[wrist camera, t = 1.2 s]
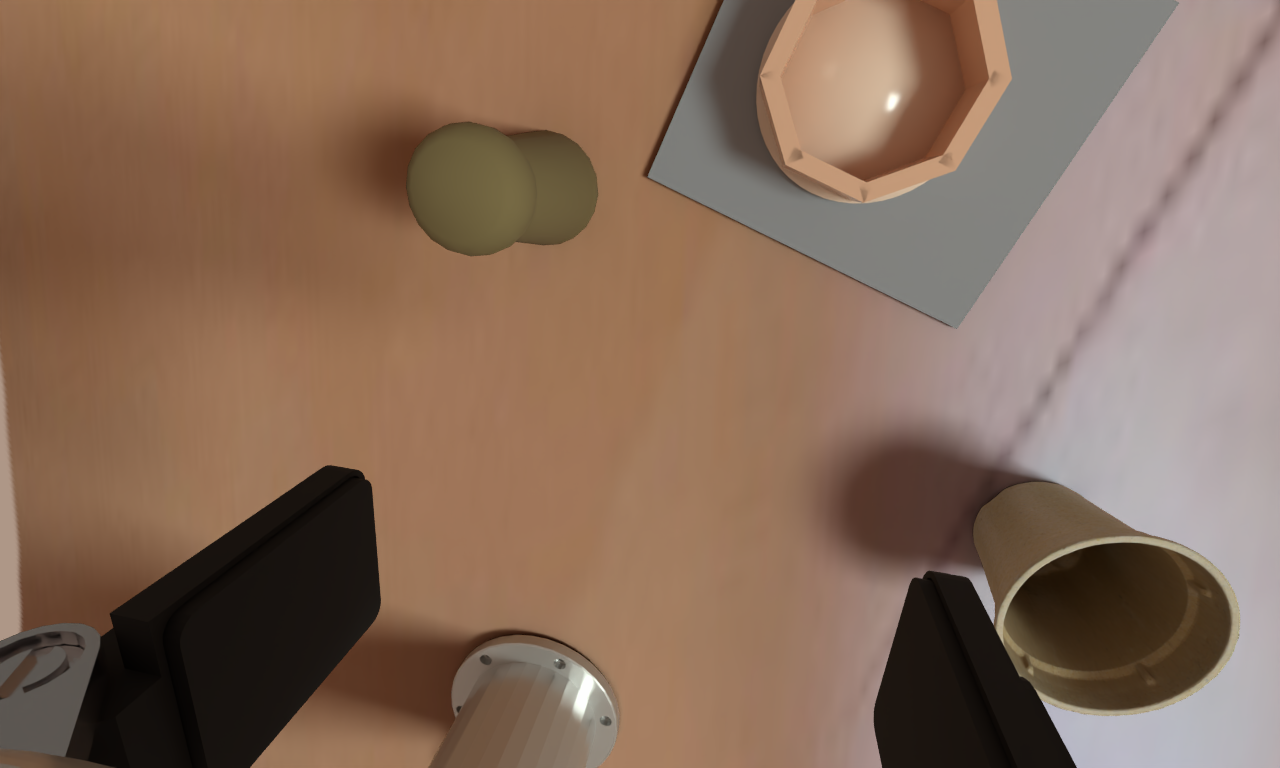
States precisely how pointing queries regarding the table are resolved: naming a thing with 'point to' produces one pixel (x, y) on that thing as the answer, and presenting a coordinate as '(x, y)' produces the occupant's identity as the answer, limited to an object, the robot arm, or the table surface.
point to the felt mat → (941, 207)
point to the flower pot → (1101, 604)
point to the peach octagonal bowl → (878, 92)
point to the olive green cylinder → (499, 188)
